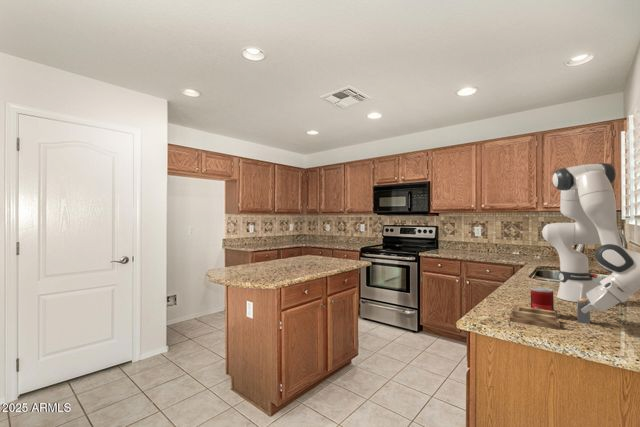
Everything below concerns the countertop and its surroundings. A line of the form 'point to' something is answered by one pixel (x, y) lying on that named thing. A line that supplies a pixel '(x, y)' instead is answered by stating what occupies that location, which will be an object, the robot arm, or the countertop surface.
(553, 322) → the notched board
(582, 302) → the block with orange ball
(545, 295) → the canned food
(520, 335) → the countertop surface
